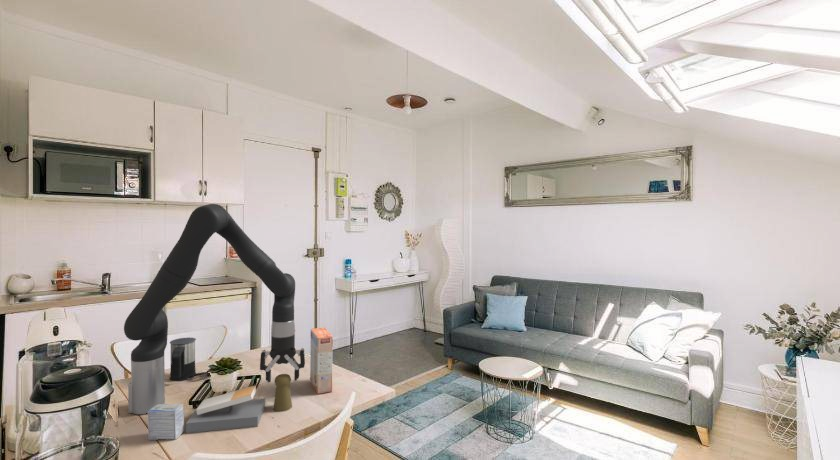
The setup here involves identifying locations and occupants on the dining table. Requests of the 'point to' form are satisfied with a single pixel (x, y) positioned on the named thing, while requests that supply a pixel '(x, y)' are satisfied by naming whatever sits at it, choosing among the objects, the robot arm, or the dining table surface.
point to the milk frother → (183, 359)
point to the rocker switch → (226, 400)
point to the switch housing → (228, 417)
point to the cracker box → (321, 360)
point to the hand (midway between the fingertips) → (282, 380)
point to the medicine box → (165, 421)
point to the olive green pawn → (282, 393)
